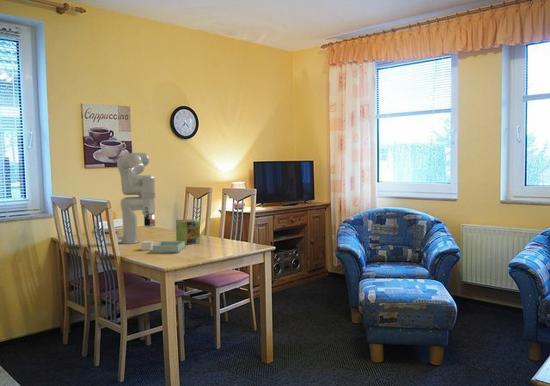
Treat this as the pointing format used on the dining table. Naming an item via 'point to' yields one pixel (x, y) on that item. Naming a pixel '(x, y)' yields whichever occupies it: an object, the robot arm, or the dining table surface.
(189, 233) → the protein box
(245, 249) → the dining table surface
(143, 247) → the grey block
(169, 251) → the tote
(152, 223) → the clear brown jar
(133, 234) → the robot arm
